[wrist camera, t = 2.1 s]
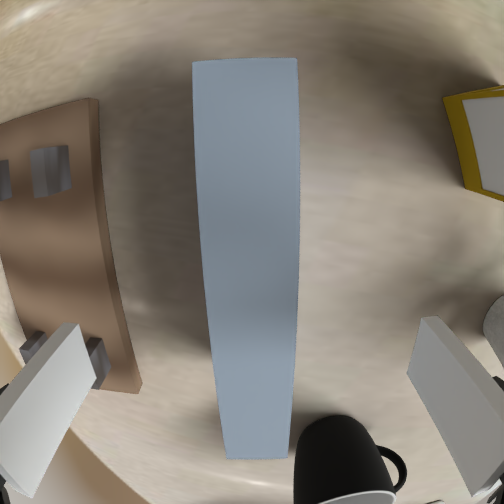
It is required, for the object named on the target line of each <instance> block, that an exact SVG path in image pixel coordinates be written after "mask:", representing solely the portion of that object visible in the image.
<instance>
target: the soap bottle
mask: <svg viewBox="0 0 504 504" xmlns="http://www.w3.org/2000/svg"><path fill="white" fill-rule="evenodd" d="M442 99H443V102H444V106H445V109H446V112H447V115H448V119H449V122H450V126H451V129H452V133H453V136H454V140H455V144H456V148H457V152H458V157H459V161H460V165H461V170H462V175H463V180H464V185H465V189H467V190H470V191H473V192H477V193H480V194H483V195H486V196H488V197H491V198H494V199H497V200H500V201H503V202H504V85H501V86H496V87H490V88H485V89H480V90H475V91H470V92H465V93H461V94H456V95H452V96H447V97H443V98H442Z"/></svg>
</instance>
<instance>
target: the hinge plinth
mask: <svg viewBox="0 0 504 504" xmlns="http://www.w3.org/2000/svg"><path fill="white" fill-rule="evenodd" d="M0 256H1V260H2V264H3V268H4V271H5V275H6V279H7V282H8V286H9V289H10V293H11V296H12V299H13V302H14V305H15V309H16V312H17V314H18V317H19V320H20V323H21V326H22V329H23V331H24V334H25V337H26V339H27V341H26V342H25V343H24V344H23V345H22V346H21V347H20V348H19V350H20V353H21V355H22V357H23V359H24V362H25V364H27V363H28V361H29V360H30V359H31V358H32V357H33V356H34V355H35V353H36V352H37V351H38V350H39V349H40V348H41V347H42V345H43V344H44V343H45V342H46V341H47V340H48V339H49V338H50V337H51V335H52V334H53V333H54V332H55V331H56V330H57V329H58V328H59V327H60V326H61V325H62V323H63V322H65V323H77V324H79V327H80V330H81V333H82V337H83V340H84V343H85V346H86V349H87V352H88V355H89V358H90V361H91V364H92V367H93V370H94V372H95V375H96V380H95V382H94V383H93V385H92V387H91V389H98V390H99V389H102V390H109V391H116V392H124V393H132V394H138V393H139V391H140V388H141V386H142V380H141V377H140V373H139V370H138V366H137V363H136V359H135V356H134V352H133V348H132V344H131V341H130V337H129V333H128V329H127V324H126V320H125V316H124V311H123V307H122V302H121V298H120V293H119V288H118V283H117V278H116V273H115V267H114V262H113V256H112V250H111V243H110V237H109V230H108V223H107V215H106V207H105V199H104V190H103V179H102V168H101V154H100V137H99V108H98V100H96V99H91V98H86V99H82V100H78V101H74V102H70V103H66V104H62V105H59V106H55V107H52V108H48V109H45V110H41V111H38V112H35V113H32V114H29V115H26V116H23V117H20V118H17V119H14V120H11V121H8V122H5V123H3V124H0Z"/></svg>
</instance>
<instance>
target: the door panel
mask: <svg viewBox="0 0 504 504" xmlns="http://www.w3.org/2000/svg"><path fill="white" fill-rule="evenodd" d="M192 85H193V122H194V147H195V168H196V186H197V202H198V216H199V230H200V243H201V255H202V267H203V278H204V288H205V298H206V308H207V318H208V327H209V336H210V344H211V353H212V361H213V369H214V377H215V384H216V392H217V399H218V406H219V413H220V420H221V426H222V433H223V439H224V446H225V452H226V458H227V459H282V458H287V456H288V446H289V435H290V423H291V411H292V397H293V383H294V368H295V351H296V332H297V310H298V283H299V245H300V129H299V93H298V67H297V58H235V59H218V60H206V61H195V62H192Z"/></svg>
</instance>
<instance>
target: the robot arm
mask: <svg viewBox="0 0 504 504" xmlns="http://www.w3.org/2000/svg"><path fill="white" fill-rule="evenodd" d="M407 375H408V377H409V378H410V380H411V382H412V383H413V385H414V387H415V389H416V390H417V392H418V394H419V396H420V398H421V399H422V401H423V403H424V405H425V406H426V408H427V410H428V412H429V414H430V416H431V417H432V419H433V421H434V423H435V425H436V427H437V428H438V430H439V432H440V434H441V436H442V438H443V440H444V442H445V444H446V446H447V448H448V449H449V451H450V453H451V455H452V457H453V459H454V461H455V463H456V465H457V467H458V469H459V471H460V473H461V475H462V477H463V480H464V482H465V484H466V486H467V488H468V490H469V492H470V494H471V497H474V496H476V495H478V494H480V493H482V492H485V491H487V490H489V489H490V488H491V487H492V486H493V485H494V484H495V483H496V482H497V480H498V479H499V478H500V480H501V482H502V485H501V486H500V487H499V488H498V489H497V490H496V491H495V492H494V493H493V494H492V496H490V498H489V499H488V501H487V503H490V502H491V501H492V500H493V499H494V498H495V497H496V496H497V497H496V501H495V502H494V503H493V504H504V381H503V380H502V379H500V378H499V377H497V376H495V377H491V375H490V374H489V373H488V372H487V371H486V369H485V368H484V367H483V366H482V365H481V364H480V362H479V361H478V360H477V359H476V358H475V357H474V355H473V354H472V353H471V352H470V351H469V350H468V348H467V347H466V346H465V345H464V344H463V343H462V342H461V341H460V339H459V338H458V337H457V336H456V335H455V334H454V333H453V332H452V331H451V329H450V328H449V327H448V326H447V325H446V324H445V323H444V322H443V321H442V320H441V319H440V318H439V317H438V315H437V316H429V317H421V322H420V326H419V330H418V334H417V338H416V342H415V346H414V350H413V353H412V357H411V360H410V364H409V367H408V371H407ZM95 380H96V375H95V372H94V370H93V367H92V364H91V361H90V358H89V355H88V352H87V349H86V346H85V343H84V340H83V337H82V333H81V330H80V327H79V324H77V323H65V322H63V323H62V325H61V326H60V327H59V328H58V329H57V330H56V331H55V332H54V333H53V334H52V335H51V337H50V338H49V339H48V340H47V341H46V342H45V343H44V344H43V345H42V347H41V348H40V349H39V350H38V351H37V352H36V353H35V355H34V356H33V357H32V358H31V359H30V360H29V361H28V363H27V364H26V365H25V366H24V367H23V369H22V370H21V371H20V372H19V373H18V375H17V376H16V377H15V378H14V379H13V380H12V382H11V383H10V384H7V385H5V386H4V387H2V388H1V389H0V504H10V500H9V496H8V493H7V490H6V489H5V487H4V484H5V482H6V481H7V483H8V484H9V485H10V486H11V487H12V488H13V489H14V490H15V491H17V492H19V493H21V494H23V495H25V496H28V497H29V498H33V496H34V494H35V492H36V490H37V488H38V486H39V484H40V481H41V479H42V477H43V475H44V473H45V471H46V469H47V467H48V465H49V463H50V462H51V459H52V458H53V456H54V454H55V452H56V450H57V448H58V446H59V444H60V442H61V440H62V439H63V437H64V435H65V433H66V431H67V429H68V427H69V426H70V424H71V422H72V420H73V418H74V417H75V415H76V413H77V411H78V409H79V408H80V406H81V404H82V402H83V401H84V399H85V397H86V395H87V394H88V392H89V390H90V388H91V387H92V385H93V383H94V382H95Z"/></svg>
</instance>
